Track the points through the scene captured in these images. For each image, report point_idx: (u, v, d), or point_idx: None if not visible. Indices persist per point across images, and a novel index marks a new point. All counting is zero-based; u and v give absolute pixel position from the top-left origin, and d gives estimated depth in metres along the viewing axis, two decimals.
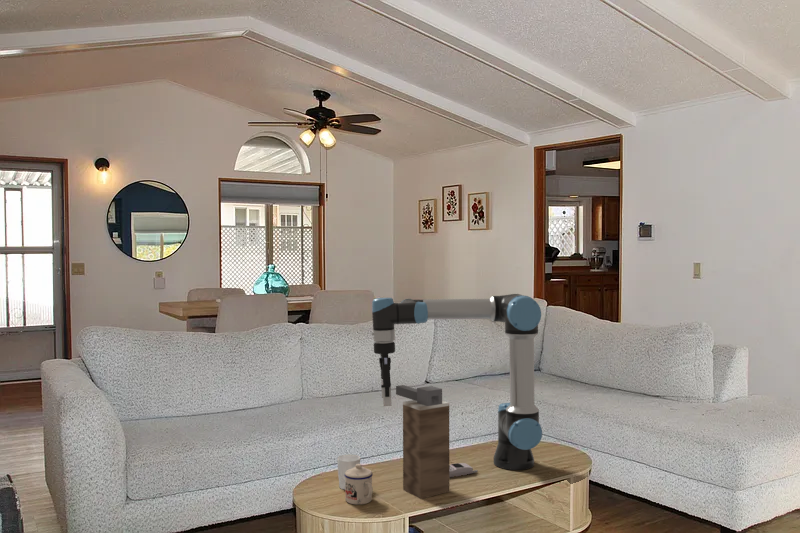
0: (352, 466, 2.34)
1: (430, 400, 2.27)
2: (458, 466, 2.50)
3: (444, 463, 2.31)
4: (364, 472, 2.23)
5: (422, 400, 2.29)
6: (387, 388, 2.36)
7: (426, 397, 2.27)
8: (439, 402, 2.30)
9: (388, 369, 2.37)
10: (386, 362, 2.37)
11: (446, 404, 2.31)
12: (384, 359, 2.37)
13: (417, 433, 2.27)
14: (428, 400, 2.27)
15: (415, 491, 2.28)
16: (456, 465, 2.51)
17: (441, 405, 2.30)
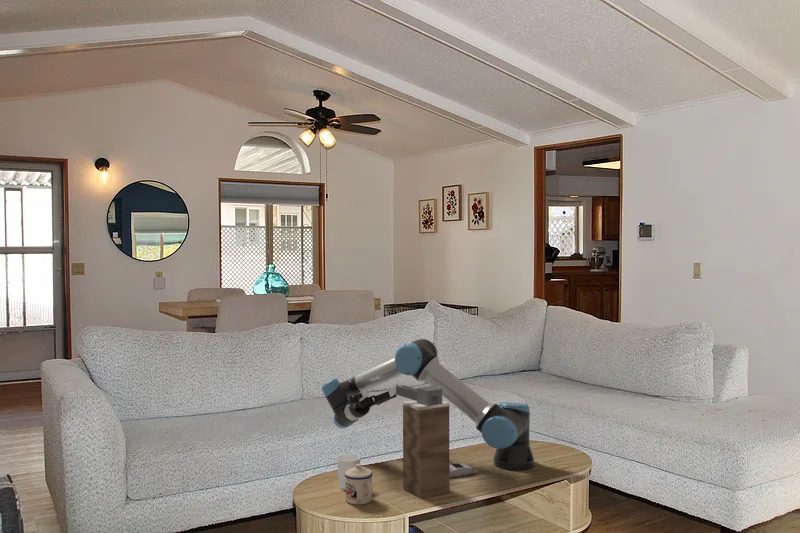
0: (352, 466, 2.34)
1: (430, 400, 2.27)
2: (458, 466, 2.50)
3: (444, 463, 2.31)
4: (364, 472, 2.23)
5: (422, 400, 2.29)
6: (355, 397, 2.55)
7: (426, 397, 2.27)
8: (439, 402, 2.30)
9: (349, 401, 2.60)
10: (348, 404, 2.62)
11: (446, 404, 2.31)
12: (348, 407, 2.63)
13: (417, 433, 2.27)
14: (428, 400, 2.27)
15: (415, 491, 2.28)
16: (456, 465, 2.51)
17: (441, 405, 2.30)
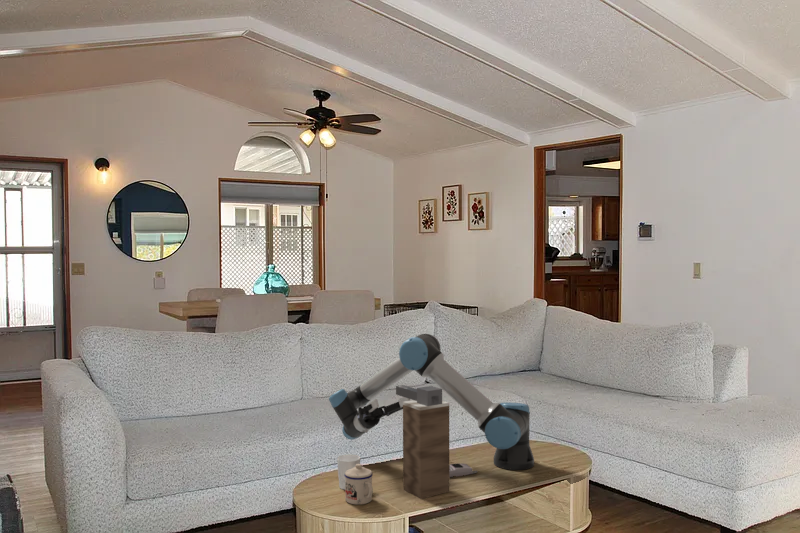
0: (352, 466, 2.34)
1: (430, 400, 2.27)
2: (457, 466, 2.50)
3: (444, 463, 2.31)
4: (364, 472, 2.23)
5: (422, 400, 2.29)
6: (365, 408, 2.49)
7: (426, 397, 2.27)
8: (439, 402, 2.30)
9: (358, 412, 2.54)
10: (358, 415, 2.56)
11: (446, 404, 2.31)
12: (358, 418, 2.57)
13: (417, 433, 2.27)
14: (428, 400, 2.27)
15: (415, 491, 2.28)
16: (456, 465, 2.51)
17: (441, 405, 2.30)
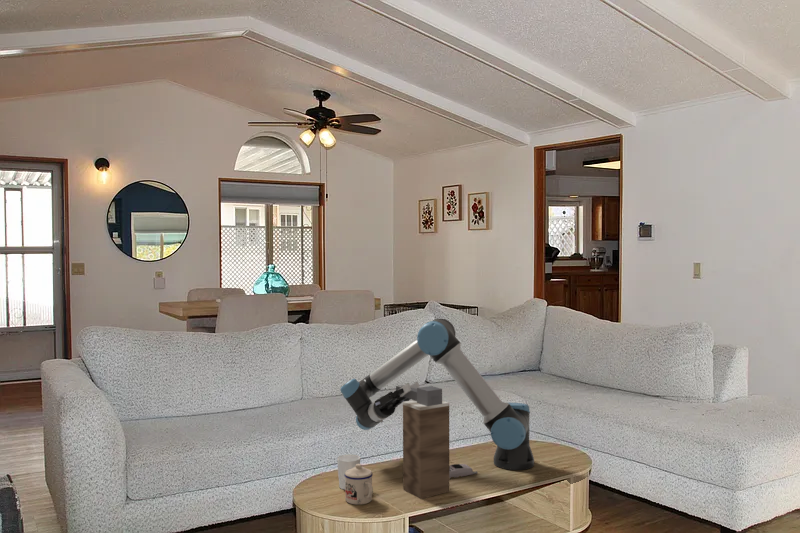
0: (352, 466, 2.34)
1: (430, 400, 2.27)
2: (458, 467, 2.49)
3: (444, 463, 2.31)
4: (364, 472, 2.23)
5: (422, 400, 2.29)
6: (396, 393, 2.41)
7: (426, 397, 2.27)
8: (439, 402, 2.30)
9: (381, 398, 2.45)
10: (378, 402, 2.46)
11: (446, 404, 2.31)
12: (376, 405, 2.47)
13: (417, 433, 2.27)
14: (428, 400, 2.27)
15: (415, 491, 2.28)
16: (456, 466, 2.50)
17: (441, 405, 2.30)
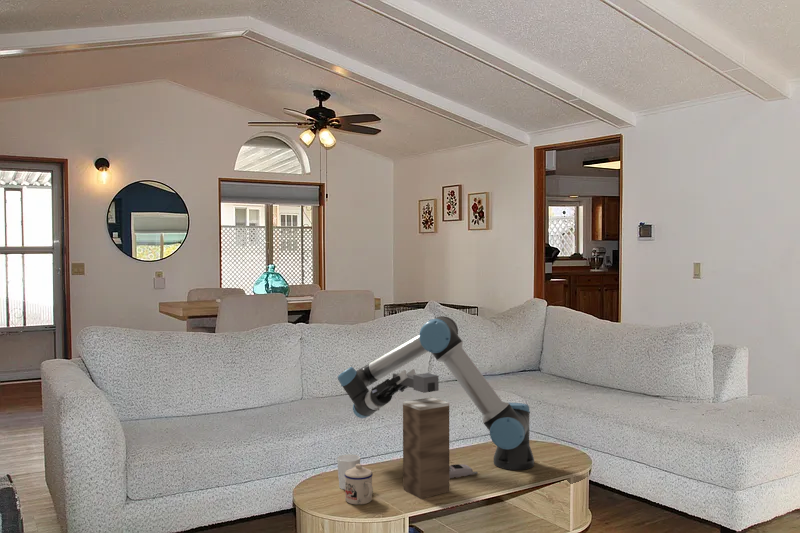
0: (352, 466, 2.34)
1: (426, 387, 2.29)
2: (458, 467, 2.49)
3: (444, 463, 2.31)
4: (364, 472, 2.23)
5: (418, 387, 2.31)
6: (393, 380, 2.43)
7: (422, 384, 2.29)
8: (435, 389, 2.31)
9: (378, 386, 2.46)
10: (374, 390, 2.48)
11: (446, 404, 2.31)
12: (373, 393, 2.48)
13: (417, 433, 2.27)
14: (425, 387, 2.28)
15: (415, 491, 2.28)
16: (456, 466, 2.50)
17: (441, 405, 2.30)
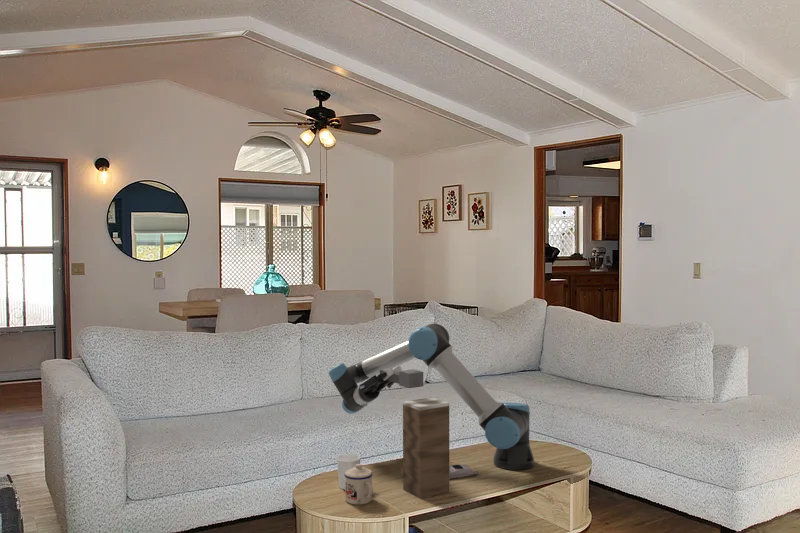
0: (352, 466, 2.34)
1: (411, 382, 2.36)
2: (458, 467, 2.48)
3: (444, 463, 2.31)
4: (364, 472, 2.23)
5: (404, 382, 2.38)
6: (379, 376, 2.50)
7: (407, 379, 2.36)
8: (420, 384, 2.38)
9: (366, 382, 2.54)
10: (362, 386, 2.55)
11: (446, 404, 2.31)
12: (360, 388, 2.55)
13: (417, 433, 2.27)
14: (410, 382, 2.36)
15: (415, 491, 2.28)
16: (456, 466, 2.50)
17: (441, 405, 2.30)
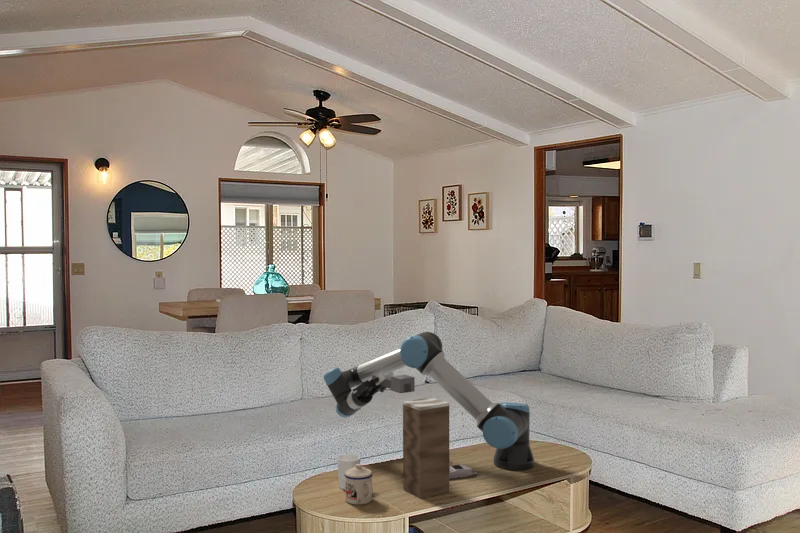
0: (352, 466, 2.34)
1: (403, 387, 2.40)
2: (457, 468, 2.48)
3: (444, 463, 2.31)
4: (364, 472, 2.23)
5: (395, 388, 2.42)
6: (372, 381, 2.54)
7: (399, 385, 2.40)
8: (411, 389, 2.43)
9: (358, 387, 2.58)
10: (355, 390, 2.59)
11: (446, 404, 2.31)
12: (353, 393, 2.60)
13: (417, 433, 2.27)
14: (401, 387, 2.40)
15: (415, 491, 2.28)
16: (456, 467, 2.49)
17: (441, 405, 2.30)
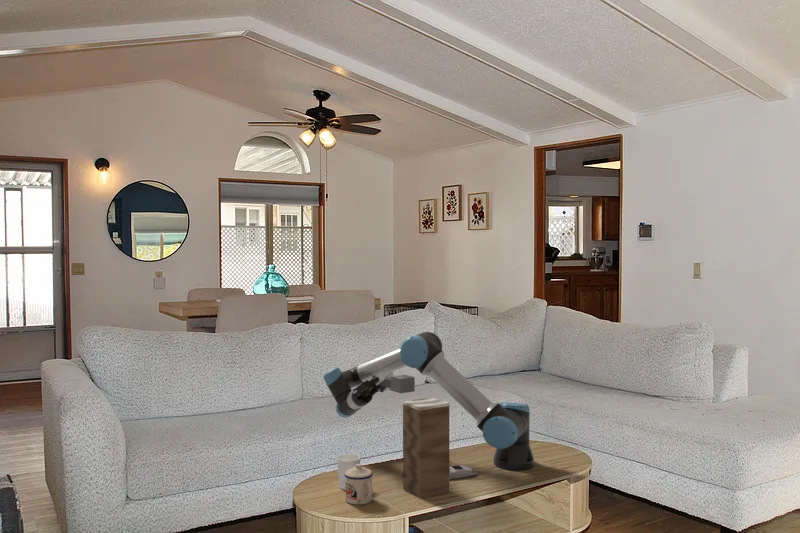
0: (352, 466, 2.34)
1: (403, 388, 2.40)
2: (457, 468, 2.48)
3: (444, 463, 2.31)
4: (364, 472, 2.23)
5: (395, 388, 2.42)
6: (372, 381, 2.54)
7: (399, 385, 2.40)
8: (411, 390, 2.43)
9: (358, 387, 2.58)
10: (355, 390, 2.59)
11: (446, 404, 2.31)
12: (353, 393, 2.60)
13: (417, 433, 2.27)
14: (401, 387, 2.40)
15: (415, 491, 2.28)
16: (456, 467, 2.49)
17: (441, 405, 2.30)
